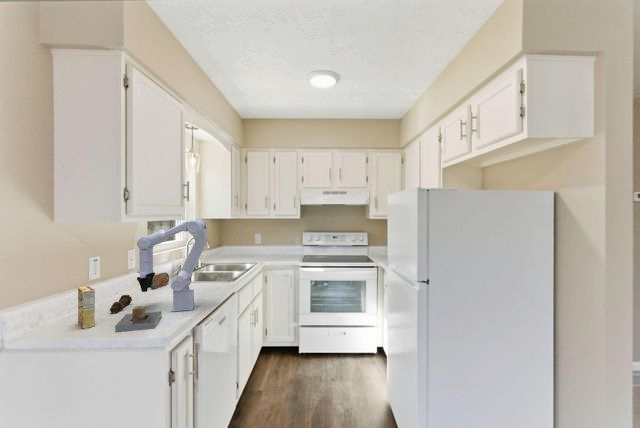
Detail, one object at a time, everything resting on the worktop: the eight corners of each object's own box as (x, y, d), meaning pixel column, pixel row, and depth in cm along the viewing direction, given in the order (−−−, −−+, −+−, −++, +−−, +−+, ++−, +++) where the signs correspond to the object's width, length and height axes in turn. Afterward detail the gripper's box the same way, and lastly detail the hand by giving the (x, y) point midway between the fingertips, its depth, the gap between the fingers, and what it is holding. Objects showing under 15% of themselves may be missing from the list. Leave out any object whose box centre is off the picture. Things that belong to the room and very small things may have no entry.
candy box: (77, 324, 132) (77, 287, 132) (89, 321, 135) (89, 285, 135) (82, 329, 126) (82, 291, 126) (95, 326, 129) (95, 289, 129)
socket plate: (161, 316, 141) (161, 311, 141) (154, 328, 127) (154, 322, 127) (126, 320, 137) (126, 314, 136) (115, 332, 123) (115, 325, 123)
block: (145, 322, 134) (145, 305, 134) (143, 325, 130) (143, 308, 130) (135, 323, 133) (135, 306, 133) (132, 326, 129) (132, 309, 129)
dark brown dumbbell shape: (111, 318, 145) (124, 307, 159) (122, 312, 145) (134, 301, 160) (104, 307, 144) (118, 297, 158) (114, 301, 144) (127, 292, 159)
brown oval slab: (152, 290, 187) (152, 276, 187) (147, 290, 188) (147, 276, 187) (169, 284, 202) (169, 271, 201) (165, 284, 202) (165, 271, 202)
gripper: (140, 259, 157) (141, 286, 157) (132, 264, 143) (132, 294, 143) (156, 259, 159) (156, 285, 159) (149, 263, 145) (150, 293, 145)
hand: (146, 289), depth 151 cm, fingers open, 7 cm apart
